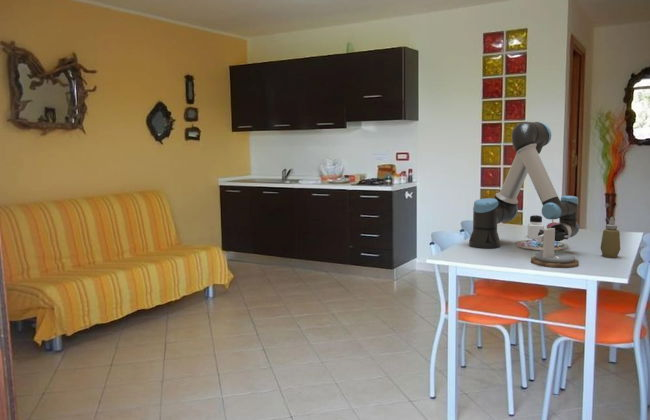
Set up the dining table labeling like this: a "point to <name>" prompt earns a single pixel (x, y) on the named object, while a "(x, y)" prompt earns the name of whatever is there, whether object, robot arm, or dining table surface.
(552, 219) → the cupcake
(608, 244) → the squeeze bottle
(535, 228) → the medicine bottle
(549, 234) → the dial
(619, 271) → the dining table surface
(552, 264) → the base
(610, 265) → the dining table surface
